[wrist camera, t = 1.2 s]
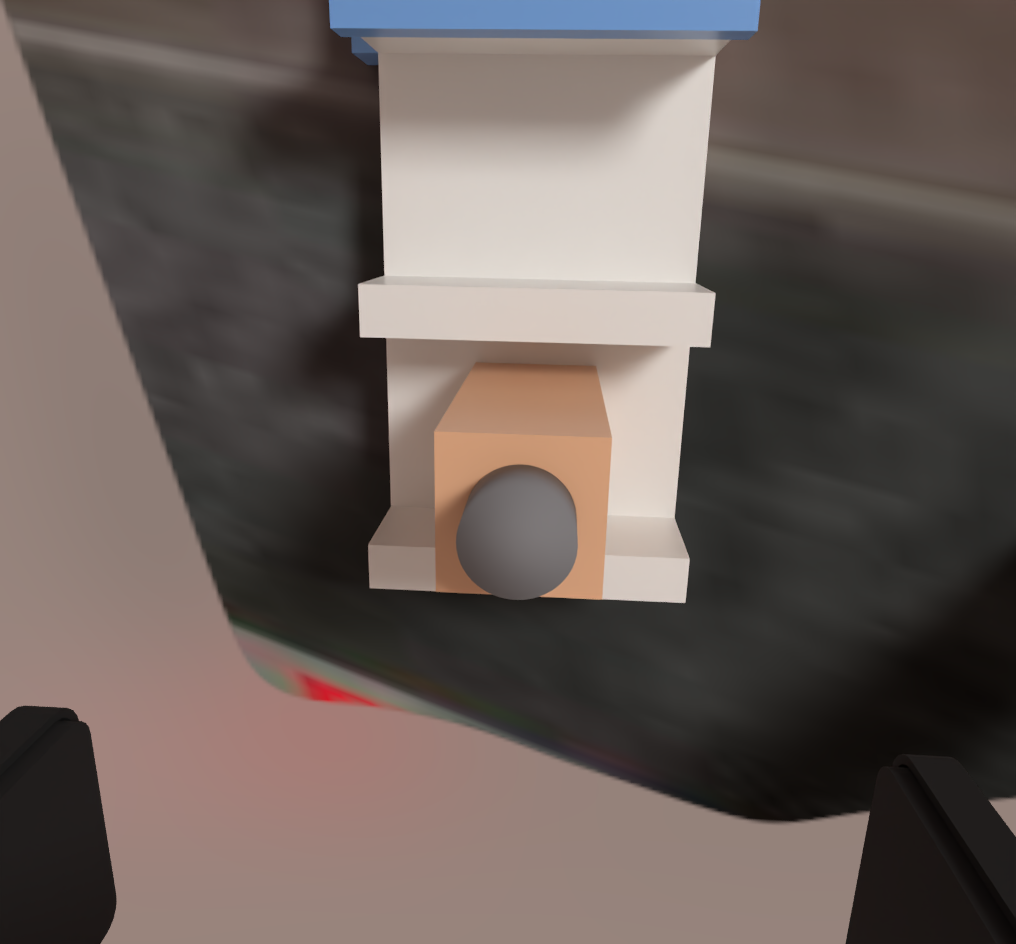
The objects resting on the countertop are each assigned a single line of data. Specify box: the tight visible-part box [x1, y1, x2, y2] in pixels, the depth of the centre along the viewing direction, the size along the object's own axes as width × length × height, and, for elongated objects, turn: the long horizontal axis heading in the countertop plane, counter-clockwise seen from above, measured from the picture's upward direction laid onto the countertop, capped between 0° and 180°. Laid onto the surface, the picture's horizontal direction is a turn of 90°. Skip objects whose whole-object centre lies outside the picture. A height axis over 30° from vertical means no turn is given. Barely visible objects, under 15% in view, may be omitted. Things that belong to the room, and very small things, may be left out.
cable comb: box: [329, 0, 761, 603], centre depth 23 cm, size 26×11×6 cm, turn 179°
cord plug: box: [434, 362, 612, 600], centre depth 22 cm, size 4×4×11 cm
